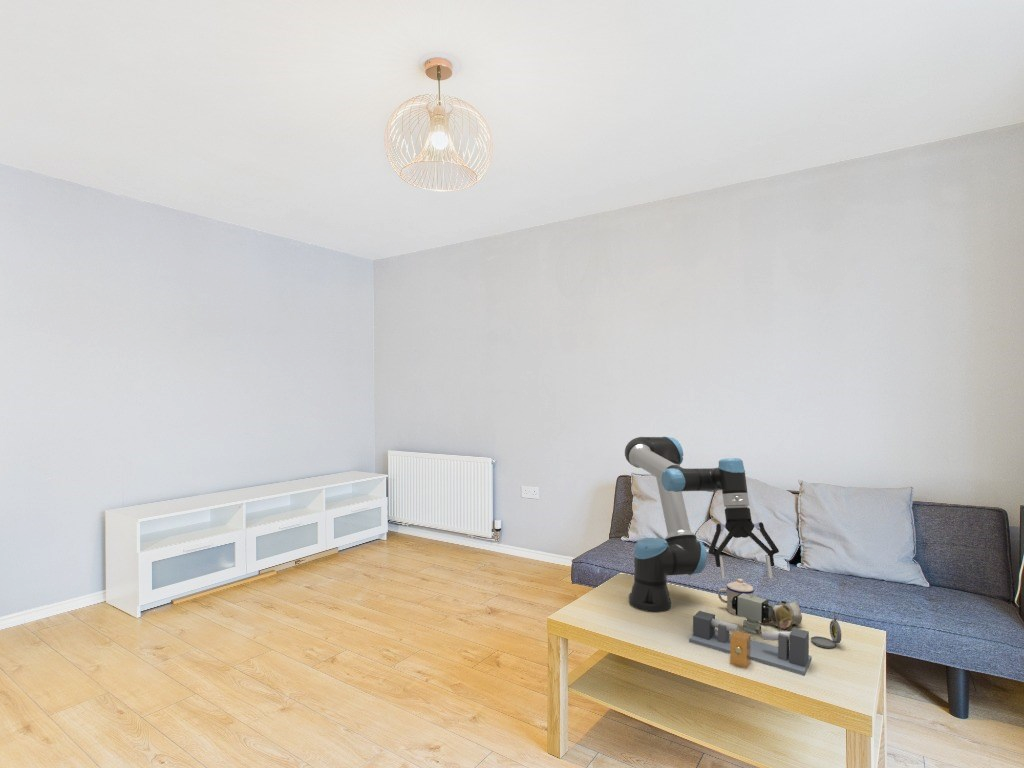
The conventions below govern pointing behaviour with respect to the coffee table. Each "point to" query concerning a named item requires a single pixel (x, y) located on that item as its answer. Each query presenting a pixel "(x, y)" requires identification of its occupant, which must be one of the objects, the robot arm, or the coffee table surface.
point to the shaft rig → (755, 643)
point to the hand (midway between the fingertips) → (746, 578)
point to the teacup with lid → (735, 592)
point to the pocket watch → (835, 636)
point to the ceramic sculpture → (786, 615)
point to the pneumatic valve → (752, 611)
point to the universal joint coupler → (740, 649)
